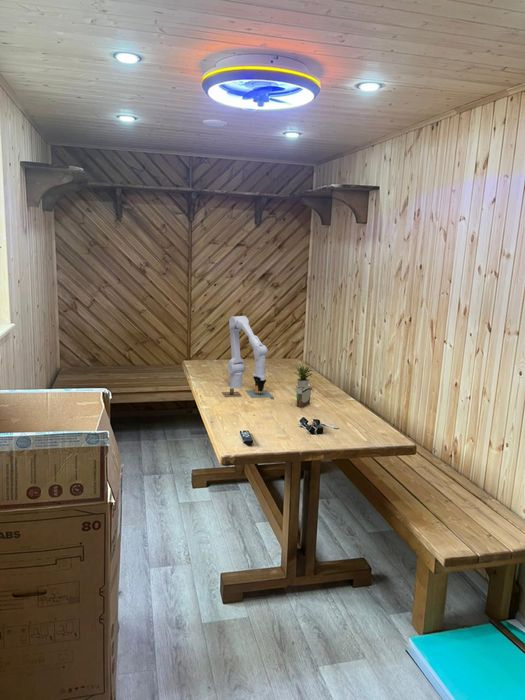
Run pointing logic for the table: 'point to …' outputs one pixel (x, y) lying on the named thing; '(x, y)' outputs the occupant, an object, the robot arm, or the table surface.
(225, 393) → the stand
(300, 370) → the house plant
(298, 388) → the food container
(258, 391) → the collar
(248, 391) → the board
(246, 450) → the table surface
